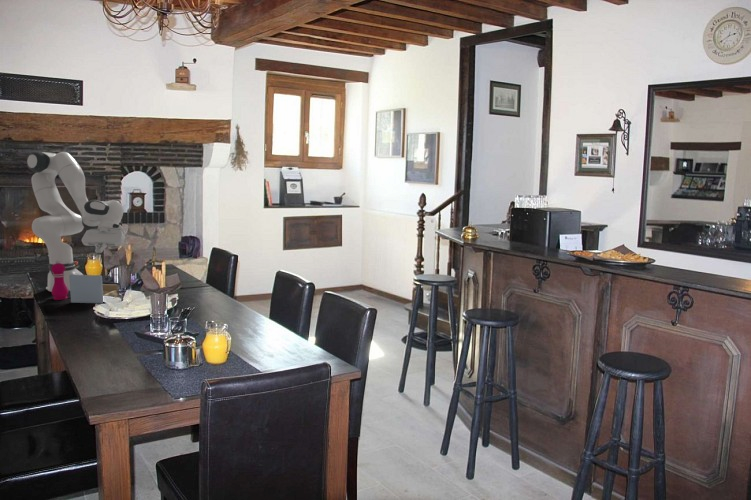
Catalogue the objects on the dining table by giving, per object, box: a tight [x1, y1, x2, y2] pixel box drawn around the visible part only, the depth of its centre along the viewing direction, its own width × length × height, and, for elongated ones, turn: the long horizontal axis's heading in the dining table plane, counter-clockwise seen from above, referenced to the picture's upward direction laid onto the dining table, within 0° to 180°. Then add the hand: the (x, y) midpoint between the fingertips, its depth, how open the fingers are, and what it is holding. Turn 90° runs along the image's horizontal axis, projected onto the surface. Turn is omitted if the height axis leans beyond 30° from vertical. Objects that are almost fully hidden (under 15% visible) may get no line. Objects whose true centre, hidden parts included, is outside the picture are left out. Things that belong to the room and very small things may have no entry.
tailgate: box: [69, 274, 104, 304], centre depth 306 cm, size 1×16×14 cm, turn 84°
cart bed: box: [103, 283, 119, 298], centre depth 315 cm, size 14×15×7 cm
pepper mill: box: [51, 260, 69, 301], centre depth 315 cm, size 7×7×20 cm
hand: (98, 251), depth 316 cm, fingers closed
